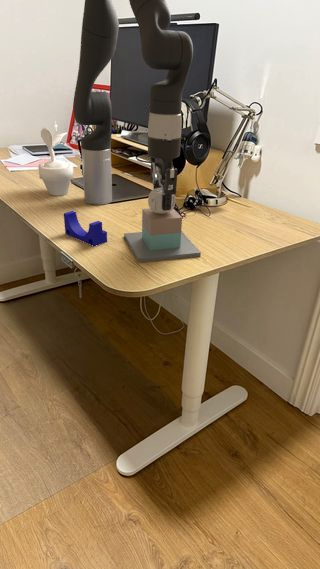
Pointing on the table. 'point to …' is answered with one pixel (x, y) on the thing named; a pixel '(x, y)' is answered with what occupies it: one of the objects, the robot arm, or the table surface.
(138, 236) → the brick tower
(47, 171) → the potted plant
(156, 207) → the die
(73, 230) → the blue saddle bracket
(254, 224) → the table surface
